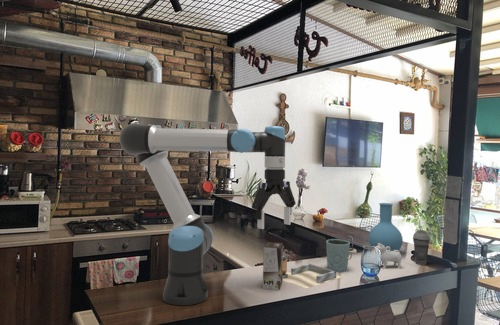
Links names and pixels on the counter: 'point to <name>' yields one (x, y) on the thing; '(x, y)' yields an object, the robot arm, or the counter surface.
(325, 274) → the notched board
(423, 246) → the beverage cup
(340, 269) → the green mug
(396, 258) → the white animal figurine
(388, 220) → the vase
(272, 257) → the coffee box
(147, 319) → the counter surface
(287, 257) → the bobbin
